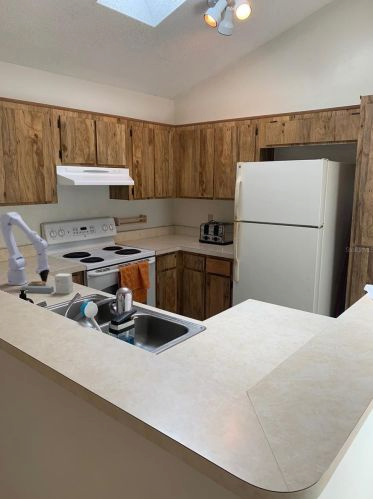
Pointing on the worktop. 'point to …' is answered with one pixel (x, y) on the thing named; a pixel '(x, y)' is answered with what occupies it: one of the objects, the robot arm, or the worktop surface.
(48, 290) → the board
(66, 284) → the small box
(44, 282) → the walnut block
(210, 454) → the worktop surface
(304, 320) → the worktop surface
